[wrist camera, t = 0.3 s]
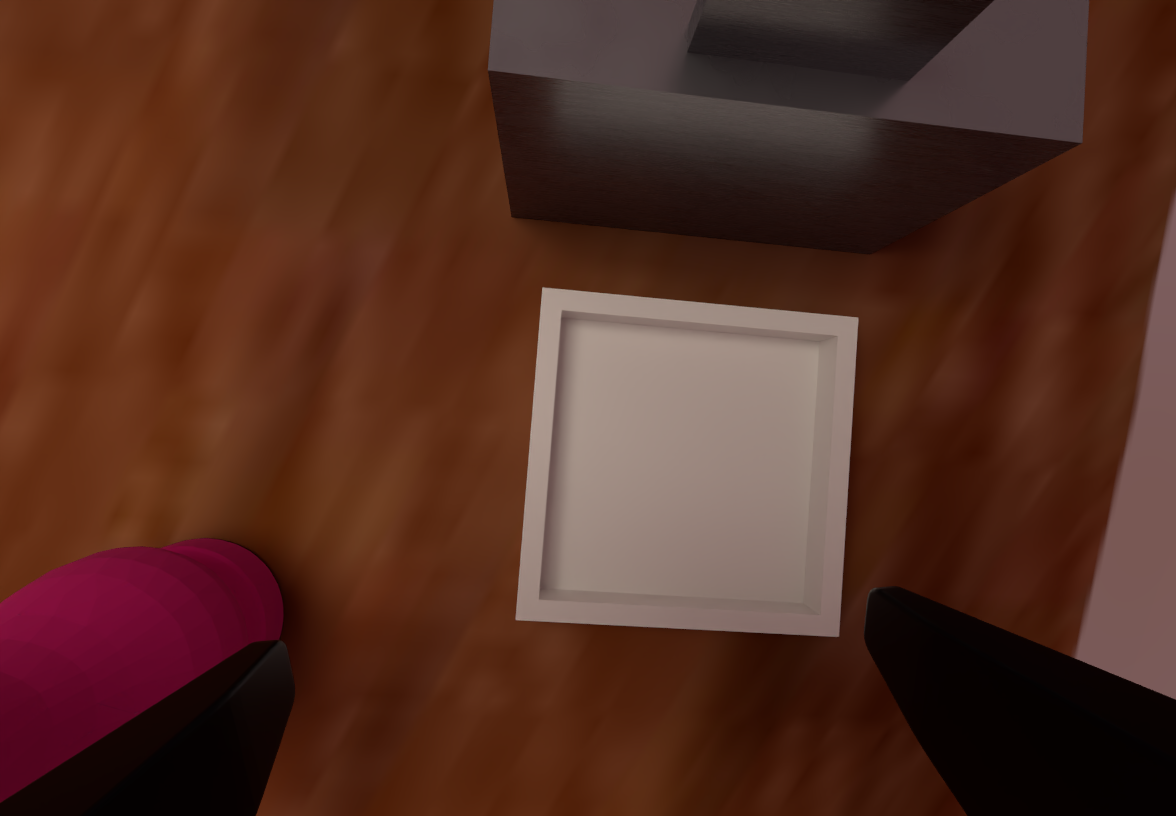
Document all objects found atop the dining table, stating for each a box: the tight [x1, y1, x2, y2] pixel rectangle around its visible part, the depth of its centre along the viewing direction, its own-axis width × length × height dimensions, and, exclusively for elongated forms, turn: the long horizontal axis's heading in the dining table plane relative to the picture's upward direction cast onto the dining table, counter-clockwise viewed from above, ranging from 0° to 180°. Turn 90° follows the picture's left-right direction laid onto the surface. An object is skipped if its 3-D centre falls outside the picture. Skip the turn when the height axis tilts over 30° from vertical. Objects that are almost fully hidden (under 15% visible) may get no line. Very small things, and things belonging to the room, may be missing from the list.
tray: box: [516, 288, 858, 637], centre depth 23 cm, size 13×13×2 cm
